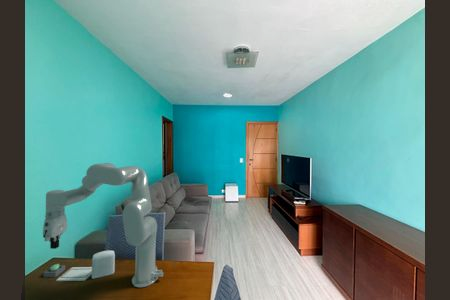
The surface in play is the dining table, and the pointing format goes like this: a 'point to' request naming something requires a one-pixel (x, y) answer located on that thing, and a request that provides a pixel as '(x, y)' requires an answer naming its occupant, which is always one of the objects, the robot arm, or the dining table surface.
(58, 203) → the robot arm
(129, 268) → the dining table surface
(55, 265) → the button
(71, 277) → the paper board
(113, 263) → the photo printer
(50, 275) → the button housing
